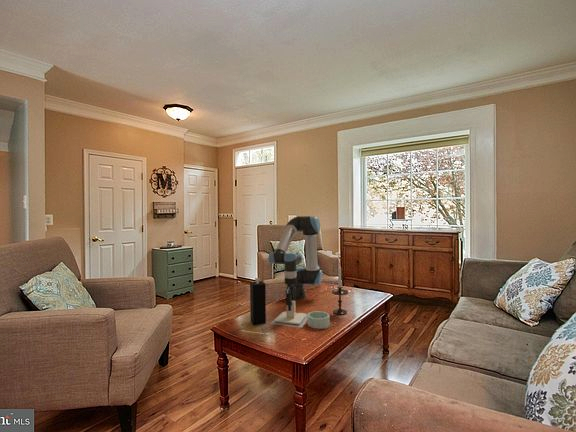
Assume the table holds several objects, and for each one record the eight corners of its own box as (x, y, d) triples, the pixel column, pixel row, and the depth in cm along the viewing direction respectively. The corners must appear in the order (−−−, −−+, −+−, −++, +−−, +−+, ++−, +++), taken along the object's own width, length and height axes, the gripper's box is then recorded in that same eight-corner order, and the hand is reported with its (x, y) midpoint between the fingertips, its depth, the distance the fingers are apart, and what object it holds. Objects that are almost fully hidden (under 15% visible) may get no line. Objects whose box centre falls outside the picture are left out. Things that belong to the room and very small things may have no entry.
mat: (281, 313, 198) (281, 312, 198) (310, 316, 191) (310, 315, 191) (270, 324, 179) (270, 323, 179) (301, 328, 172) (301, 327, 172)
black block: (250, 321, 184) (249, 277, 183) (262, 320, 186) (261, 275, 186) (253, 326, 176) (252, 279, 176) (266, 324, 179) (265, 278, 178)
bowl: (310, 319, 186) (310, 310, 185) (331, 322, 181) (331, 312, 181) (305, 327, 173) (305, 317, 173) (327, 330, 169) (326, 320, 169)
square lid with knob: (283, 312, 195) (283, 296, 195) (306, 315, 190) (306, 298, 190) (274, 321, 180) (274, 304, 180) (299, 324, 175) (299, 306, 175)
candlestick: (348, 315, 192) (347, 262, 191) (331, 314, 194) (330, 261, 193) (348, 310, 202) (347, 259, 201) (332, 309, 204) (331, 259, 204)
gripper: (289, 274, 193) (289, 309, 194) (280, 279, 178) (281, 318, 179) (300, 274, 191) (300, 310, 191) (292, 280, 176) (292, 319, 176)
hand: (291, 314), depth 185 cm, fingers closed on square lid with knob, 3 cm apart
